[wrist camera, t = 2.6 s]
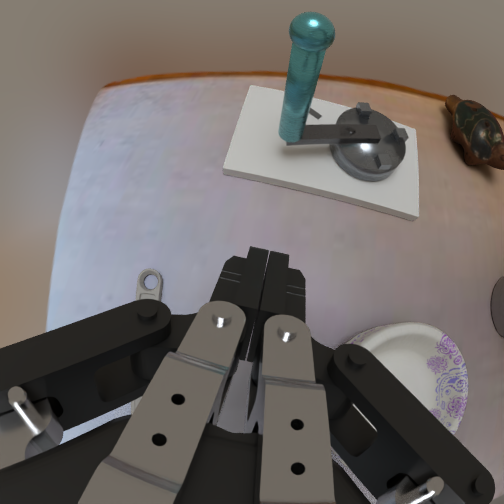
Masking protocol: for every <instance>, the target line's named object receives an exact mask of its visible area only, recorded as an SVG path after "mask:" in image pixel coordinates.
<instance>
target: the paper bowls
mask: <svg viewBox="0 0 504 504" xmlns="http://www.w3.org/2000/svg"><path fill="white" fill-rule="evenodd" d="M346 344H356V345H360V346H362V347H364V348H366V349H367V350H369V351H370V352H371V353H372V354H373V355H374V356H375V357H376V358H377V359H378V360H379V361H380V362H381V363H382V364H383V365H384V366H385V367H386V368H387V369H388V370H389V371H390V372H391V373H392V374H393V375H394V376H395V377H396V378H397V379H398V380H399V381H400V382H401V383H402V384H403V385H404V386H405V387H406V388H407V389H408V390H409V391H410V392H411V393H412V394H413V395H414V396H415V397H416V398H417V399H418V400H419V401H420V402H421V403H422V404H423V405H424V406H425V407H426V408H427V409H428V410H429V411H430V412H431V413H432V414H433V415H434V416H435V417H436V418H437V419H438V420H439V421H440V422H441V423H442V424H443V425H444V426H445V427H446V428H447V429H448V430H449V431H450V432H451V433H452V434H453V435H454V434H455V432H456V430H457V428H458V427H459V425H460V422H461V420H462V417H463V415H464V411H465V408H466V403H467V397H468V375H467V369H466V365H465V362H464V359H463V357H462V354H461V352H460V351H459V349H458V347H457V346H456V345H455V343H454V342H453V341H452V340H451V339H450V338H449V337H448V336H447V335H446V334H445V333H444V332H442V331H441V330H439V329H437V328H436V327H434V326H431V325H429V324H425V323H419V322H404V323H396V324H389V325H383V326H379V327H375V328H372V329H369V330H367V331H365V332H362V333H360V334H358V335H356V336H355V337H353V338H352V339H351V340H349V341H348V342H347V343H346ZM353 406H354V407H355V408H356V409H357V410H358V411H359V412H360V410H359V409H358V408H357V407H356V406H355V405H354V404H353ZM360 414H361V415H362V416H363V417H364V418H365V419H366V420H367V421H368V422H369V420H368V419H367V418H366V417H365V416H364V415H363V414H362V413H361V412H360ZM369 424H370V425H371V426H372V427H373V428H374V429H375V427H374V426H373V425H372V424H371V423H370V422H369ZM375 430H376V429H375ZM331 450H332V451H333V452H334V454H335V455H336V456H337V458H338V459H339V460H340V461H341V463H343V464H344V465H345V466H346V467H348V466H347V465H346V464H345V462H344V461H343V460H342V459H341V458H340V456H339V455H338V454H337V453H336V452H335V450H334V449H333V448H332V447H331ZM348 468H349V467H348ZM349 469H350V468H349Z"/></svg>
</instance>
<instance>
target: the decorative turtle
mask: <svg viewBox="0 0 504 504" xmlns="http://www.w3.org/2000/svg"><path fill="white" fill-rule="evenodd" d="M445 106H446V108H447V109H448V110H449V112H450V113H451V114H452V116H453V128H452V131H451V139H452V141H454V142H456V143H458V144H461V145H462V146H463V148H464V160H465V162H466V164H468V165H476V164H487V165H489V166H492V167H494V168H497V169H501V170H504V135H503V132H502V129H501V127H500V125H499V123H498V121H497V120H496V118H495V117H494V116H493V114H492V113H491V112H490V111H489V110H487V109H486V108H485V107H484V106H482V105H481V104H479V103H477V102H475V101H472V100H461V99H460V98H459V97H457V96H455V95H450V96H449V97H448V98H447V100H446V102H445Z"/></svg>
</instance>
